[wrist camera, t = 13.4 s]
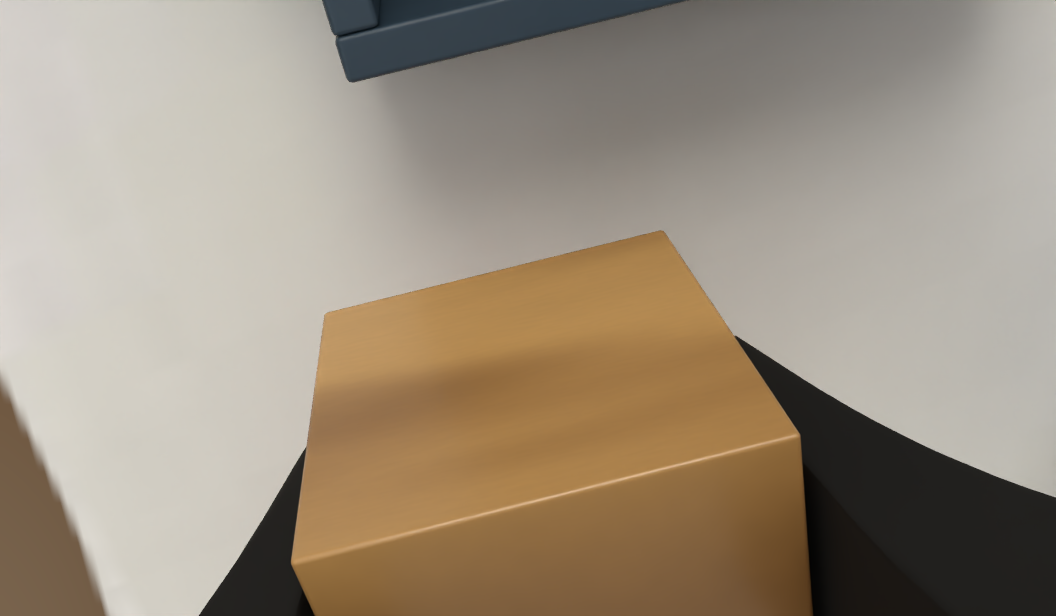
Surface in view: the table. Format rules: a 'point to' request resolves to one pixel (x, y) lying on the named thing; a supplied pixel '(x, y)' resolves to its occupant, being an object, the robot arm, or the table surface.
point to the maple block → (550, 451)
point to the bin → (453, 27)
